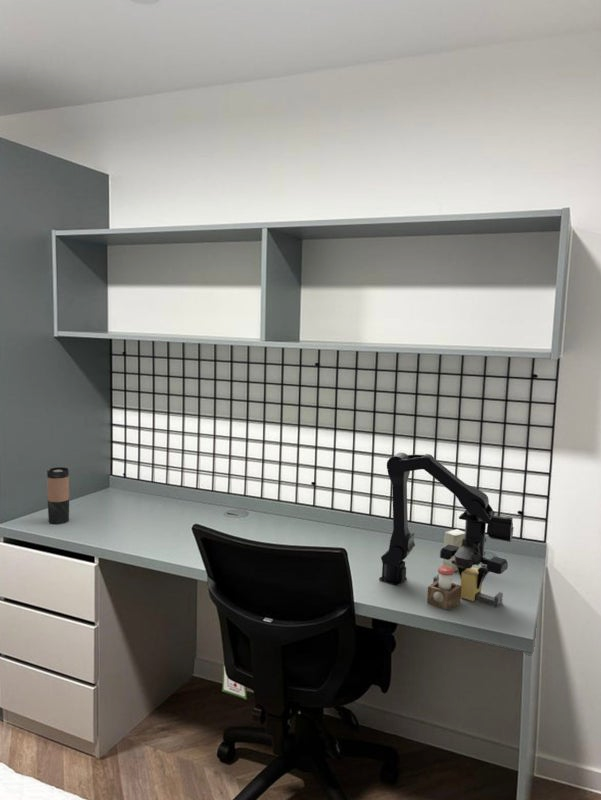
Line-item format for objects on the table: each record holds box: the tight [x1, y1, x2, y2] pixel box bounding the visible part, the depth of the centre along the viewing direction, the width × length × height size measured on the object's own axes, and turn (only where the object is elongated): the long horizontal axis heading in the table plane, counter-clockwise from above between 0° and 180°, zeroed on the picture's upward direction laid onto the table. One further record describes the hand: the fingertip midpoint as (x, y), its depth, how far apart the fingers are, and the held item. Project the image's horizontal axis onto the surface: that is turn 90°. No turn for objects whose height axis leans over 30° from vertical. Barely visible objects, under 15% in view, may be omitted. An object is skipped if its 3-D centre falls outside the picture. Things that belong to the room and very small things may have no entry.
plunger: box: [437, 565, 455, 591], centre depth 183 cm, size 4×4×7 cm
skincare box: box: [442, 528, 465, 572], centre depth 209 cm, size 6×4×12 cm
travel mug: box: [46, 466, 70, 525], centre depth 241 cm, size 8×8×20 cm
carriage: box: [460, 566, 483, 602], centre depth 188 cm, size 4×6×8 cm, turn 142°
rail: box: [432, 573, 504, 608], centre depth 189 cm, size 20×4×3 cm, turn 52°
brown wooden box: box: [426, 579, 462, 612], centre depth 184 cm, size 7×7×5 cm
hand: (471, 586), depth 188 cm, fingers closed on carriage, 4 cm apart
